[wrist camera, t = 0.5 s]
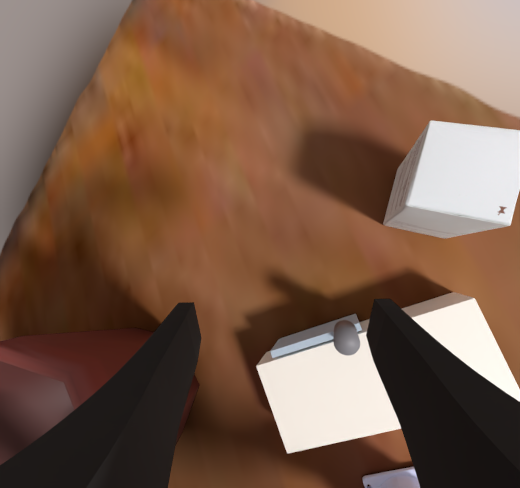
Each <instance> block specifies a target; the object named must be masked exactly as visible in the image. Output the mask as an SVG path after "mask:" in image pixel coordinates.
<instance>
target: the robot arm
mask: <svg viewBox="0 0 520 488" xmlns="http://www.w3.org/2000/svg"><path fill="white" fill-rule="evenodd" d="M366 337H367V340H368V344H369V348H370V351H371V355H372V358H373V361H374V363H375V366H376V368H377V371H378V373H379V376H380V378H381V380H382V383H383V385H384V387H385V390H386V392H387V395H388V397H389V399H390V402H391V404H392V406H393V409H394V411H395V413H396V416H397V418H398V421H399V423H400V426H401V429H402V431H403V434H404V437H405V440H406V443H407V446H408V450H409V453H410V456H411V459H412V462H413V465H414V467H408V468H403V469H398V470H393V471H387V472H382V473H377V474H371V475H366V476H364V477H363V479H362V480H363V484H364V487H365V488H520V402H519V401H518V400H516V399H515V398H513V397H512V396H510V395H509V394H507V393H506V392H504V391H503V390H501V389H500V388H499V387H497V386H496V385H494V384H493V383H491V382H490V381H489V380H487V379H486V378H484V377H483V376H481V375H480V374H479V373H477V372H476V371H475V370H473V369H472V368H471V367H469V366H468V365H467V364H465V363H464V362H463V361H462V360H460V359H459V358H458V357H457V356H455V355H454V354H453V353H452V352H450V351H449V350H448V349H447V348H445V347H444V346H443V345H442V344H441V343H439V342H438V341H437V340H436V339H435V338H434V337H432V336H431V335H430V334H429V333H428V332H427V331H425V330H424V329H423V328H422V327H421V326H420V325H419V324H418V323H416V322H415V321H414V320H413V319H412V318H411V317H410V316H409V315H408V314H406V313H405V312H404V311H403V310H402V309H401V308H400V307H399V306H398V305H397V304H395V303H394V302H393V301H392V300H391V299H374V303H373V307H372V312H371V316H370V320H369V324H368V329H367V333H366ZM200 343H201V334H200V329H199V325H198V320H197V315H196V311H195V306H194V303H178V304H177V305H176V306H175V308H174V309H173V310H172V311H171V312H170V314H169V315H168V316H167V317H166V319H165V320H164V321H163V322H162V323H161V325H160V326H159V327H158V328H157V329H156V331H155V332H154V333H153V334H152V335H151V336H150V338H149V339H148V340H147V341H146V342H145V343H144V344H143V346H142V347H141V348H140V349H139V350H138V351H137V352H136V353H135V354H134V355H133V356H132V357H131V358H130V359H129V360H128V361H127V363H126V364H125V365H124V366H123V367H122V368H121V369H120V370H119V371H118V372H117V373H116V374H115V375H114V376H113V377H111V378H110V379H109V380H108V381H107V382H106V383H105V384H104V385H103V386H102V387H101V388H100V389H99V390H97V391H96V392H95V393H94V394H93V395H92V396H91V397H89V398H88V399H87V400H86V401H85V402H84V403H82V404H81V405H80V406H79V407H78V408H76V409H75V410H74V411H73V412H72V413H70V414H69V415H68V416H67V417H65V418H64V419H63V420H62V421H60V422H59V423H58V424H57V425H55V426H54V427H53V428H51V429H50V430H49V431H47V432H46V433H45V434H43V435H42V436H41V437H39V438H38V439H37V440H35V441H34V442H33V443H31V444H30V445H28V446H27V447H26V448H24V449H23V450H22V451H20V452H19V453H17V454H16V455H14V456H13V457H12V458H10V459H9V460H7V461H6V462H4V463H3V464H1V465H0V488H168V483H169V477H170V471H171V466H172V460H173V455H174V450H175V445H176V440H177V434H178V430H179V426H180V422H181V418H182V415H183V411H184V408H185V404H186V401H187V397H188V394H189V390H190V387H191V383H192V380H193V376H194V372H195V369H196V365H197V361H198V355H199V349H200ZM368 484H369V485H371V486H367V485H368Z"/></svg>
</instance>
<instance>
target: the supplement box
mask: <svg viewBox="0 0 520 488" xmlns="http://www.w3.org/2000/svg"><path fill="white" fill-rule="evenodd" d="M519 190H520V130H512V129H503V128H495V127H485V126H476V125H467V124H458V123H449V122H440V121H430V122H429V123H428V125H427V126H426V128H425V129H424V131H423V132H422V134H421V135H420V137H419V138H418V140H417V141H416V143H415V144H414V146H413V147H412V149H411V150H410V152H409V153H408V155H407V156H406V157H405V159H404V160H403V162H402V163H401V165H400V166H399V168H398V169H397V173H396V177H395V181H394V184H393V188H392V192H391V196H390V199H389V203H388V207H387V211H386V214H385V218H384V222H383V225H386V226H390V227H394V228H398V229H403V230H407V231H412V232H417V233H421V234H426V235H431V236H435V237H440V238H445V239H446V238H450V237H455V236H460V235H465V234H470V233H475V232H480V231H485V230H490V229H496V228H501V227H506V226H510V225H511V221H512V217H513V213H514V209H515V205H516V201H517V197H518V194H519Z"/></svg>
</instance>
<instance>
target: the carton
mask: <svg viewBox="0 0 520 488" xmlns="http://www.w3.org/2000/svg"><path fill="white" fill-rule="evenodd" d="M402 310H403V311H404V312H405V313H406V314H408V315H409V316H410V317H411V318H412V319H413V320H414V321H415V322H416V323H418V324H419V325H420V326H421V327H422V328H423V329H424V330H425V331H427V332H428V333H429V334H430V335H431V336H432V337H434V338H435V339H436V340H437V341H438V342H439V343H441V344H442V345H443V346H444V347H445V348H447V349H448V350H449V351H450V352H452V353H453V354H454V355H455V356H457V357H458V358H459V359H460V360H462V361H463V362H464V363H465V364H467V365H468V366H469V367H471V368H472V369H473V370H475V371H476V372H477V373H479V374H480V375H481V376H483V377H484V378H486V379H487V380H489V381H490V382H491V383H493V384H494V385H496V386H497V387H499V388H500V389H501V390H503V391H504V392H506V393H507V394H509V395H510V396H512V397H513V398H515V399H516V400H518V401H519V402H520V389H519V387H518V385H517V383H516V381H515V379H514V377H513V375H512V373H511V371H510V369H509V367H508V365H507V363H506V361H505V359H504V357H503V355H502V353H501V351H500V349H499V347H498V345H497V343H496V341H495V339H494V336H493V334H492V332H491V330H490V328H489V326H488V324H487V322H486V320H485V318H484V316H483V314H482V312H481V310H480V308H479V306H478V304H477V302H476V300H475V298H472V297H469V296H465V295H462V294H458V293H455V292H452V293H449V294H446V295H443V296H439V297H436V298H433V299H430V300H427V301H424V302H421V303H418V304H415V305H411V306H408V307H405V308H402ZM369 320H370V319H368V320H365V321H362V322H359V323H360V326H361V328H362V330H361V331H358V332H357V333H358V336H359V339H360V348H359V350H358V351H357V352H356V353H355V354H353V355H349V356H348V355H343V354H341V353H339V352H338V351H337V350H336V348H335V346H334V343H333V339H332V340H329V341H326V342H323V343H319V344H316V345H313V346H310V347H307V348H303V349H300V350H297V351H294V352H291V353H288V354H284V355H281V356H278V357H275V358H272V355H271V353H270V351H268V352H266V353H265V355H264V356H263V357H262V359H261V360H260V361H259V363H258V364H257V366H256V367H257V370H258V373H259V376H260V378H261V381H262V384H263V387H264V390H265V392H266V395H267V398H268V401H269V404H270V406H271V409H272V412H273V415H274V418H275V421H276V423H277V426H278V429H279V432H280V435H281V437H282V440H283V443H284V446H285V449H286V451H287V454H288V453H293V452H297V451H302V450H306V449H311V448H315V447H320V446H325V445H329V444H334V443H338V442H343V441H347V440H352V439H356V438H361V437H365V436H370V435H374V434H379V433H383V432H388V431H392V430H397V429H401V426H400V423H399V421H398V418H397V416H396V413H395V411H394V409H393V406H392V404H391V402H390V399H389V397H388V395H387V392H386V390H385V387H384V385H383V383H382V380H381V378H380V376H379V373H378V371H377V368H376V366H375V363H374V361H373V358H372V355H371V351H370V348H369V344H368V340H367V337H366V333H367V329H368V324H369Z"/></svg>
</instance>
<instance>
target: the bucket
mask: <svg viewBox="0 0 520 488" xmlns="http://www.w3.org/2000/svg"><path fill="white" fill-rule="evenodd" d="M153 333H154V332H151V331H147V330H143V329H139V328H125V329H111V330H97V331H84V332H70V333H56V334H42V335H29V336H20V337H16V338H12V339H8V340H4V341H0V465H1V464H3V463H4V462H6V461H7V460H9V459H10V458H12V457H13V456H14V455H16V454H17V453H19V452H20V451H22V450H23V449H24V448H26V447H27V446H28V445H30V444H31V443H33V442H34V441H35V440H37V439H38V438H39V437H41V436H42V435H43V434H45V433H46V432H47V431H49V430H50V429H51V428H53V427H54V426H55V425H57V424H58V423H59V422H60V421H62V420H63V419H64V418H65V417H67V416H68V415H69V414H70V413H72V412H73V411H74V410H75V409H76V408H78V407H79V406H80V405H81V404H82V403H84V402H85V401H86V400H87V399H88V398H89V397H91V396H92V395H93V394H94V393H95V392H96V391H97V390H99V389H100V388H101V387H102V386H103V385H104V384H105V383H106V382H107V381H108V380H109V379H110V378H111V377H113V376H114V375H115V374H116V373H117V372H118V371H119V370H120V369H121V368H122V367H123V366H124V365H125V364H126V363H127V361H128V360H129V359H130V358H131V357H132V356H133V355H134V354H135V353H136V352H137V351H138V350H139V349H140V348H141V347H142V346H143V344H144V343H145V342H146V341H147V340H148V339H149V338H150V336H151V335H152V334H153ZM198 388H199V383H198V381H197V379H196V377H195V375H194V376H193V380H192V383H191V387H190V390H189V394H188V397H187V401H186V404H185V408H184V411H183V415H182V418H181V422H180V426H179V430H178V434H177V440H176V443H177V441H178V439H179V438H180V436H181V434H182V432H183V429H184V427H185V424H186V421H187V418H188V416H189V413H190V410H191V407H192V404H193V402H194V399H195V396H196V393H197V391H198Z"/></svg>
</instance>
